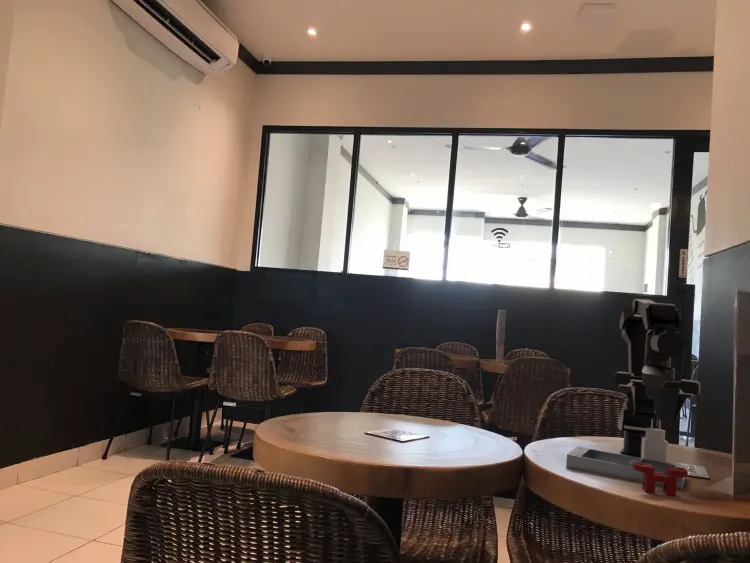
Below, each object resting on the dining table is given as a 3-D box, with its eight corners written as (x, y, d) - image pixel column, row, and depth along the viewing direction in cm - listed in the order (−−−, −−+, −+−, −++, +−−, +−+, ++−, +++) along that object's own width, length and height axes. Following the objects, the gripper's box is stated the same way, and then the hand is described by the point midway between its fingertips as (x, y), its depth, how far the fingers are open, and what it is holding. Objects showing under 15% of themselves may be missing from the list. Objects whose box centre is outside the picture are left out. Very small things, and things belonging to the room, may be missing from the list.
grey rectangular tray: (576, 458, 145) (577, 446, 145) (684, 479, 133) (685, 466, 133) (566, 467, 135) (566, 454, 135) (682, 491, 123) (683, 476, 123)
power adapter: (639, 466, 143) (642, 417, 143) (662, 468, 142) (665, 419, 142) (643, 469, 140) (646, 419, 140) (667, 472, 139) (670, 421, 139)
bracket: (689, 472, 116) (636, 465, 118) (687, 500, 116) (634, 493, 118) (684, 468, 119) (632, 461, 121) (682, 495, 119) (630, 488, 121)
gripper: (611, 350, 140) (607, 415, 139) (699, 360, 130) (695, 430, 129) (619, 349, 149) (615, 410, 149) (702, 358, 139) (698, 423, 139)
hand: (653, 418), depth 141 cm, fingers open, 9 cm apart
